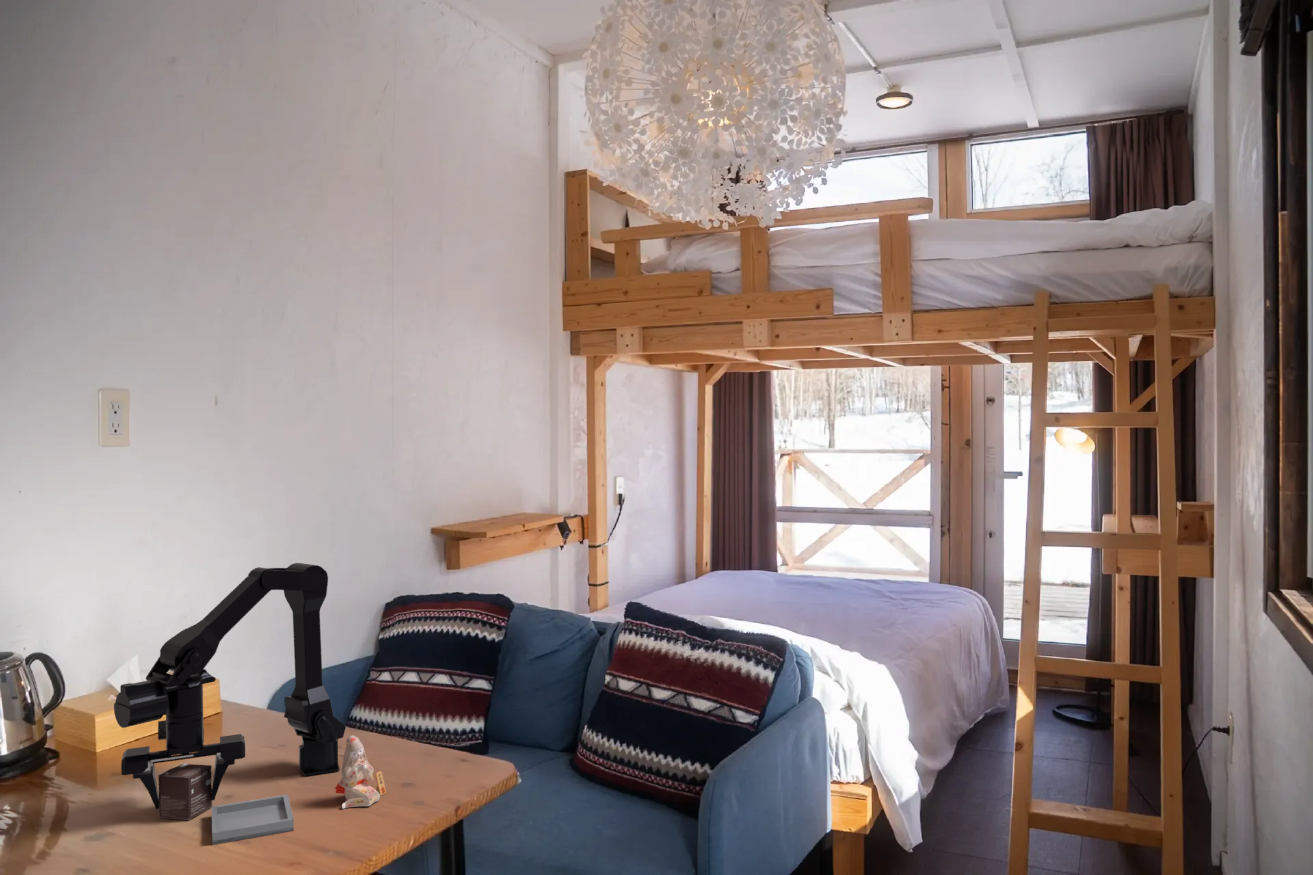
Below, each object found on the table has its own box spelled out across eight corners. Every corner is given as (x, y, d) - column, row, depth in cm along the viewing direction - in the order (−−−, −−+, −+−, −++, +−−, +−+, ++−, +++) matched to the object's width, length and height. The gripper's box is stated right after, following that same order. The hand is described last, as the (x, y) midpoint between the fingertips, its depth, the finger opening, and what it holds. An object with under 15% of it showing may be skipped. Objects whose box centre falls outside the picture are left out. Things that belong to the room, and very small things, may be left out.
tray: (287, 804, 166) (287, 794, 166) (293, 830, 155) (293, 819, 155) (211, 816, 160) (211, 806, 160) (212, 844, 150) (212, 833, 150)
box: (189, 821, 159) (188, 777, 159) (157, 818, 160) (157, 775, 160) (213, 807, 165) (212, 764, 165) (182, 804, 166) (181, 762, 166)
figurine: (356, 813, 161) (345, 743, 162) (330, 811, 165) (319, 742, 165) (397, 793, 169) (386, 726, 169) (371, 791, 173) (361, 725, 173)
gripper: (242, 694, 173) (243, 779, 174) (125, 707, 165) (126, 797, 166) (244, 710, 163) (245, 800, 164) (120, 725, 155) (121, 820, 155)
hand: (185, 803), depth 162 cm, fingers closed on box, 8 cm apart
